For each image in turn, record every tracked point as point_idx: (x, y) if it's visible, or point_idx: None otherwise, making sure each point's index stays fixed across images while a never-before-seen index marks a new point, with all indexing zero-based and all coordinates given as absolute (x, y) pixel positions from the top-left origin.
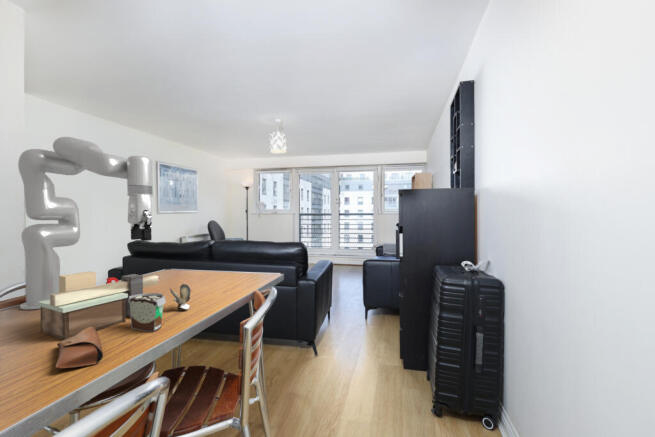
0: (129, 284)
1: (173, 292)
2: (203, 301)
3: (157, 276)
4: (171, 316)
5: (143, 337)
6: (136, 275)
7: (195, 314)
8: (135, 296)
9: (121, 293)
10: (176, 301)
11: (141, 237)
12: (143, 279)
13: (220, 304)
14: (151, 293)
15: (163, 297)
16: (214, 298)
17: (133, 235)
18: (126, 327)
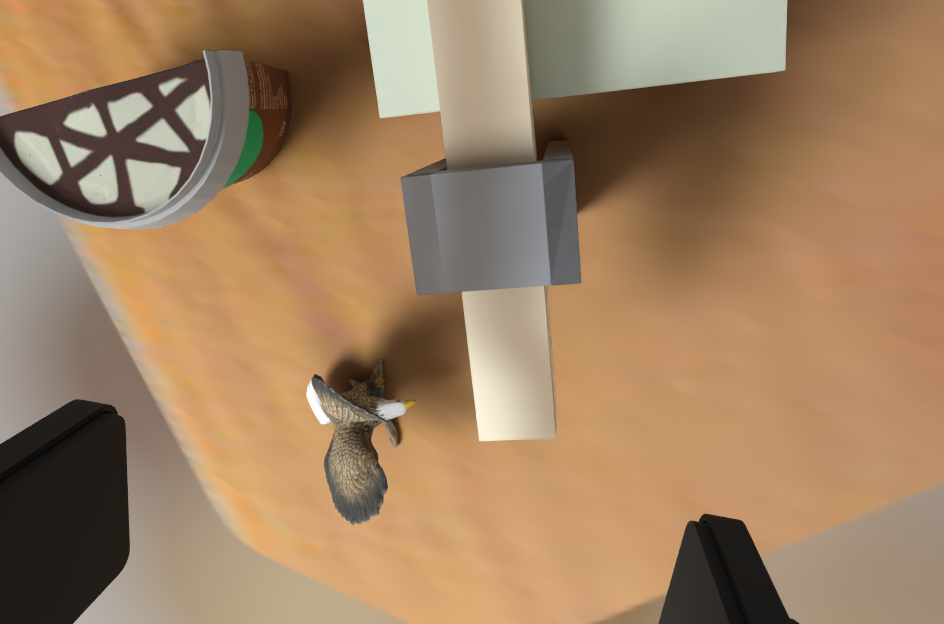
0: (437, 168)
1: (326, 396)
2: (423, 549)
3: (478, 431)
4: (312, 301)
5: (111, 47)
6: (466, 260)
7: (240, 384)
8: (216, 99)
9: (433, 92)
10: (375, 398)
11: (28, 431)
12: (465, 306)
13: (291, 552)
14: (175, 195)
15: (31, 195)
16: (423, 613)
17: (707, 608)
18: (331, 64)
